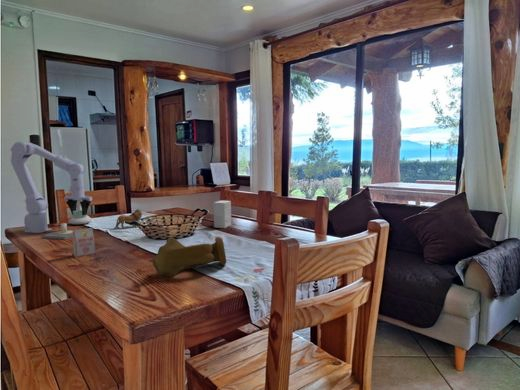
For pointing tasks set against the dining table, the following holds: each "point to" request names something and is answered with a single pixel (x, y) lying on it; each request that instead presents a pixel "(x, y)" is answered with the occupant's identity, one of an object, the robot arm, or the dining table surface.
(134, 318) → the dining table surface
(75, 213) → the ring
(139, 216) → the lion figurine
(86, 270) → the dining table surface
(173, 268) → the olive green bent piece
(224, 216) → the small box
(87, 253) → the grey printed carton
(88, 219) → the flower in vase
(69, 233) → the post stand
